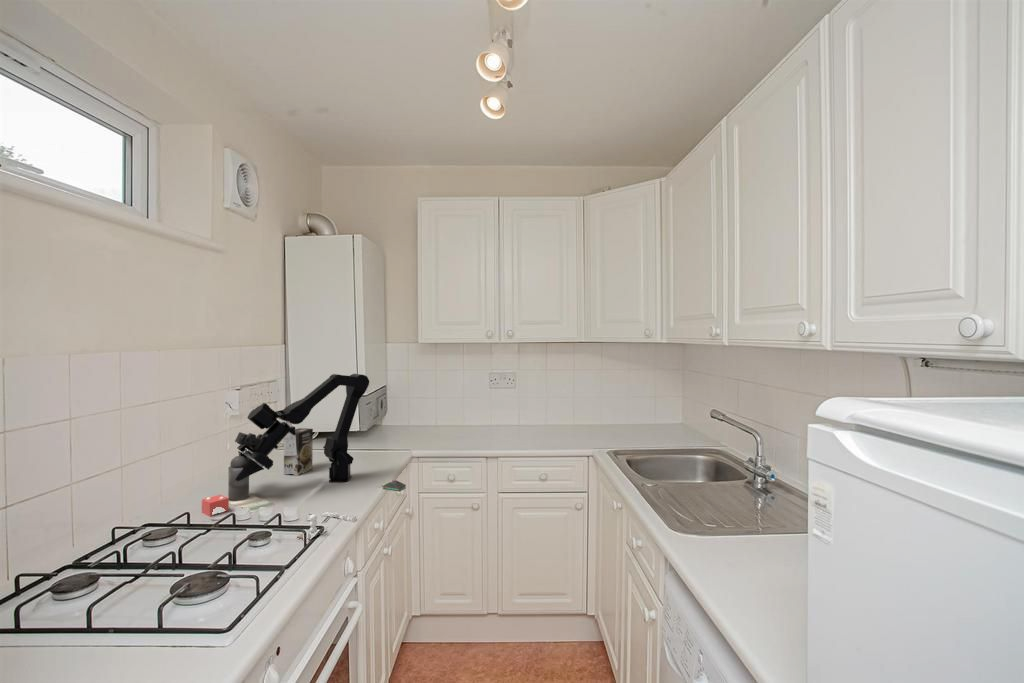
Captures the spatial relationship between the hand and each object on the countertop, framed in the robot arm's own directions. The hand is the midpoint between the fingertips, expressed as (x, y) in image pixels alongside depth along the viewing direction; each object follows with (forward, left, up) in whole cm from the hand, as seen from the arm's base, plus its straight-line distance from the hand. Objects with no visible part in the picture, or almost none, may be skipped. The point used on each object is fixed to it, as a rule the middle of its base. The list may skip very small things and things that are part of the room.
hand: (233, 478), depth 144 cm
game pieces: (-39, +6, -9) cm, 40 cm away
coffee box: (-7, -33, -8) cm, 35 cm away
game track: (-6, +3, -8) cm, 10 cm away
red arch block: (0, +10, -8) cm, 13 cm away
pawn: (-1, -1, -7) cm, 7 cm away
